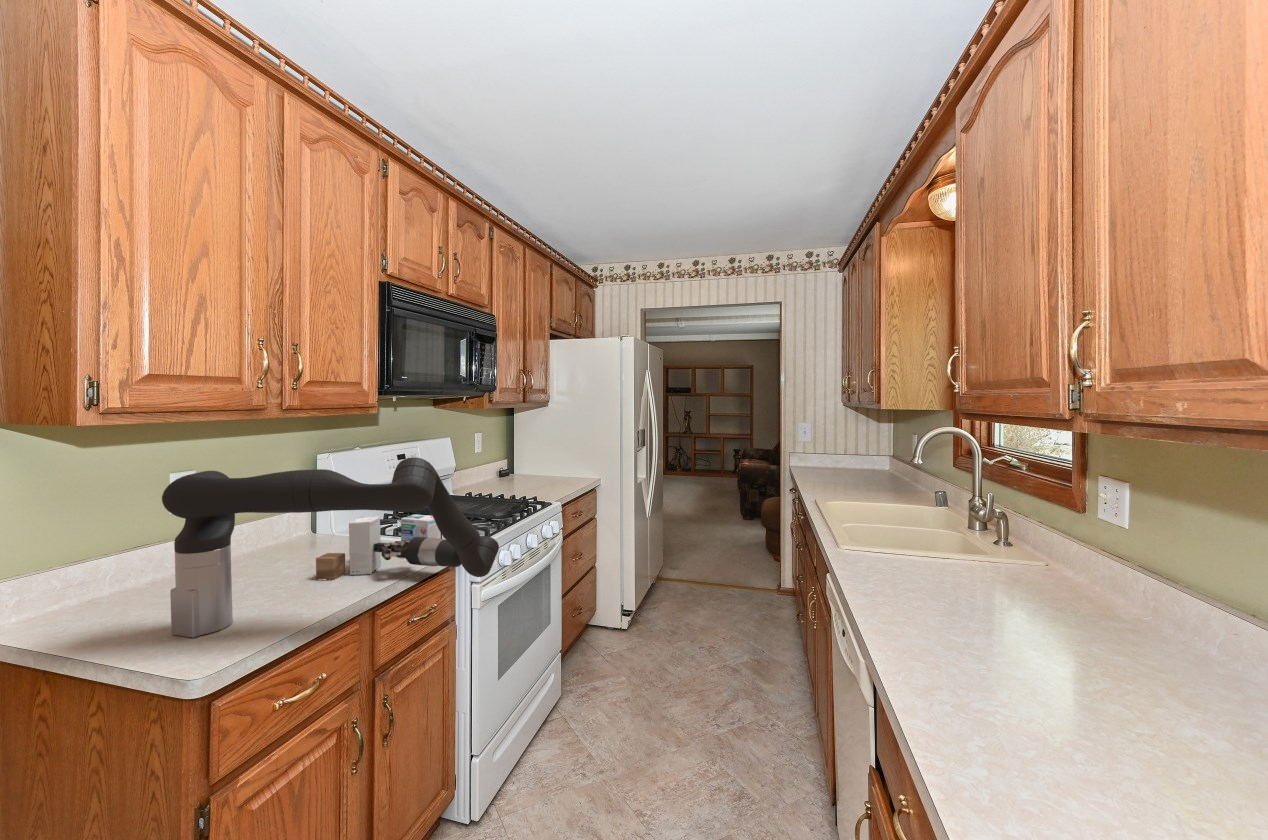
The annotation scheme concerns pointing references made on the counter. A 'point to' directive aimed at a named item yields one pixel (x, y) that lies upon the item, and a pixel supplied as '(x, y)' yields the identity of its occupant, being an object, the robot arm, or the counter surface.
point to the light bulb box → (419, 527)
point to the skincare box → (364, 545)
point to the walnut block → (330, 566)
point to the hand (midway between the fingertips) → (375, 547)
